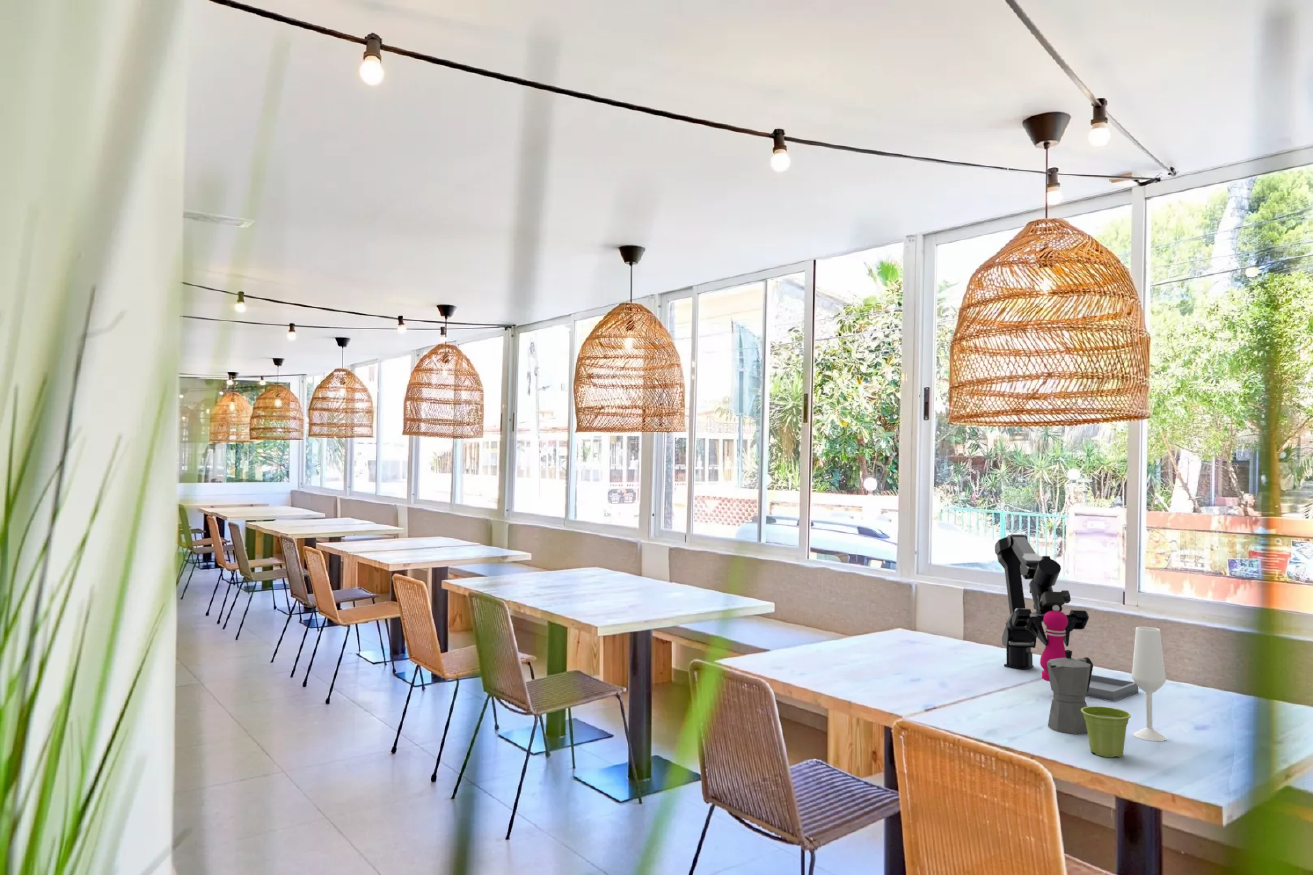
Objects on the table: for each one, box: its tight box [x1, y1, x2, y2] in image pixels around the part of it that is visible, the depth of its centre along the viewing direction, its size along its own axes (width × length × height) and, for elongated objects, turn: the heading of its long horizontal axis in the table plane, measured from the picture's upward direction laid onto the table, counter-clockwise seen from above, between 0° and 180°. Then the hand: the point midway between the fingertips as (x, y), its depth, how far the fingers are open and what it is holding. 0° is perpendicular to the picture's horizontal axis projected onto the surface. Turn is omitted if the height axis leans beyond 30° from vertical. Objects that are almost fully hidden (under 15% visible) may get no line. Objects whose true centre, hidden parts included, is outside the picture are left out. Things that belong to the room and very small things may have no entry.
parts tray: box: [1085, 673, 1139, 702], centre depth 237 cm, size 16×16×2 cm
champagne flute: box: [1131, 626, 1168, 742], centre depth 196 cm, size 7×7×24 cm
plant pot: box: [1081, 705, 1132, 758], centre depth 184 cm, size 9×9×9 cm
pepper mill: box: [1039, 605, 1068, 683], centre depth 234 cm, size 7×7×20 cm
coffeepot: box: [1047, 649, 1094, 735], centre depth 202 cm, size 15×9×18 cm, turn 121°
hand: (1057, 645), depth 232 cm, fingers closed on pepper mill, 5 cm apart
